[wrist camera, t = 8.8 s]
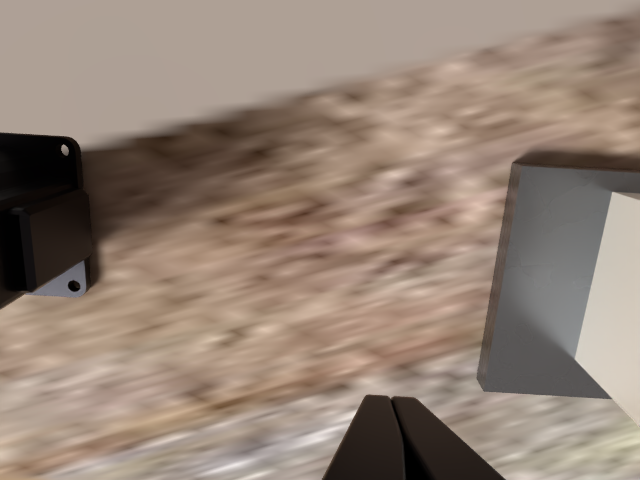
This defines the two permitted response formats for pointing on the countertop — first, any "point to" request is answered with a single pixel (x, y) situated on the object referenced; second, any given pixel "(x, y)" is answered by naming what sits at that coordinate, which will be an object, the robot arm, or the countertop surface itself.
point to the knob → (616, 308)
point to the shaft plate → (546, 278)
